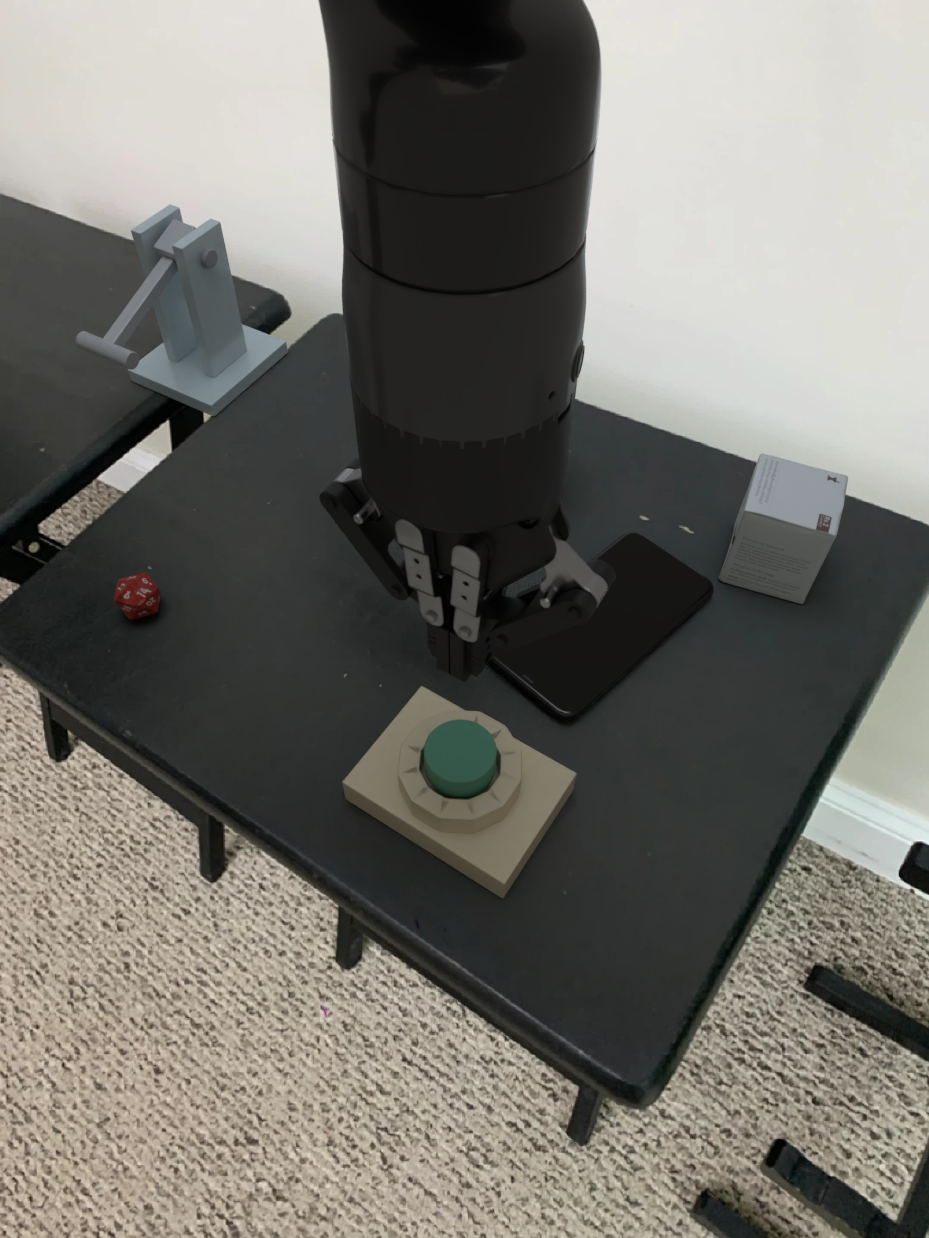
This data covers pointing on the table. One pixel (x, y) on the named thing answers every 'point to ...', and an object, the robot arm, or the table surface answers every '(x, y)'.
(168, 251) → the flush lever
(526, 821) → the green push button box
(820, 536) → the white cardboard box
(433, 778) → the flush button
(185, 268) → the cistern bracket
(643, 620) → the smartphone
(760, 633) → the table surface
